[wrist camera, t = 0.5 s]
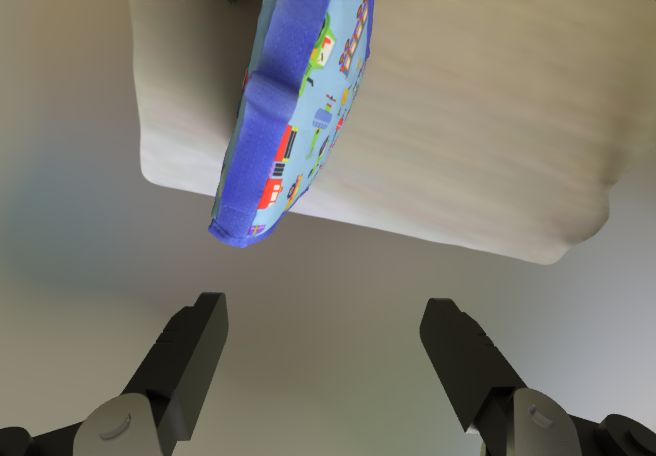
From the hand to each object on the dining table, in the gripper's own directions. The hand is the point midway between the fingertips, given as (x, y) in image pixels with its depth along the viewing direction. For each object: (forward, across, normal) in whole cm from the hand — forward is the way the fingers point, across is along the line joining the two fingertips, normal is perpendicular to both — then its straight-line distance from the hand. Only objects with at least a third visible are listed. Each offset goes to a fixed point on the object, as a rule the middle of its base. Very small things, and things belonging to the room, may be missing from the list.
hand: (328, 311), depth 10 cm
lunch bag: (+36, +3, -7) cm, 37 cm away
